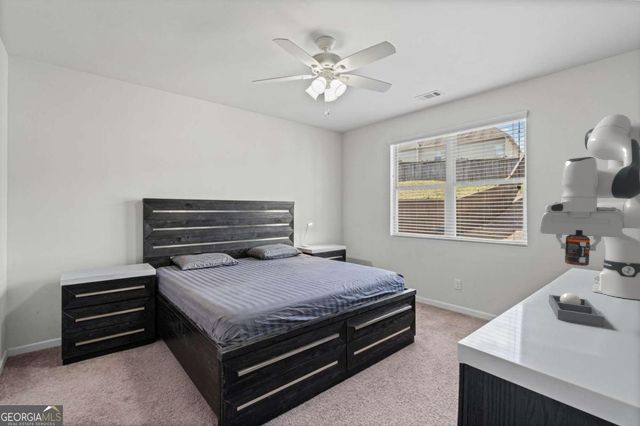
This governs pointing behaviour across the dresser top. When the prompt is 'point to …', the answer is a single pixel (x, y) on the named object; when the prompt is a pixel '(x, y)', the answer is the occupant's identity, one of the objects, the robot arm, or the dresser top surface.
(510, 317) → the dresser top surface
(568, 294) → the ceramic ball
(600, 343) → the dresser top surface
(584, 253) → the supplement bottle
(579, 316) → the divided tray
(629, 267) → the robot arm
